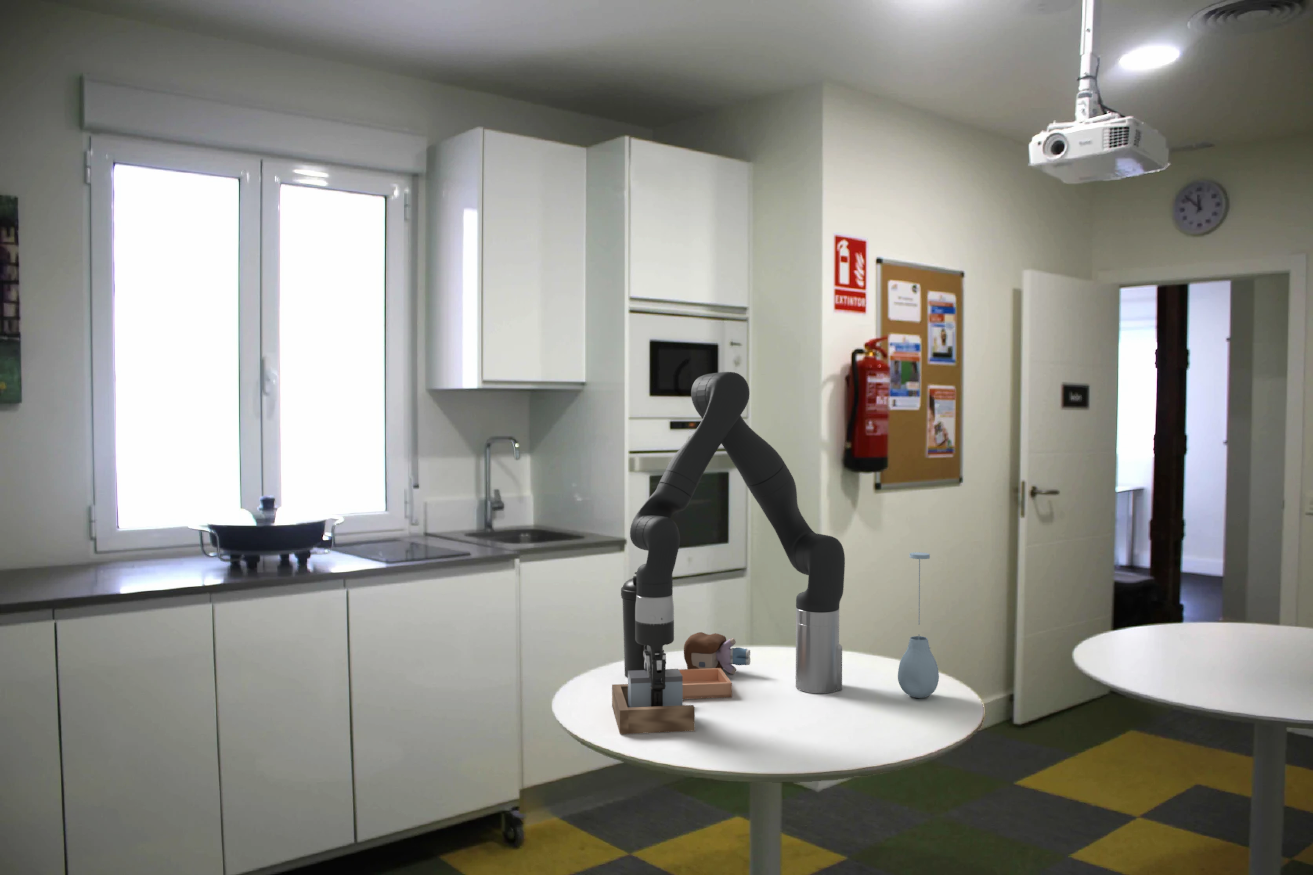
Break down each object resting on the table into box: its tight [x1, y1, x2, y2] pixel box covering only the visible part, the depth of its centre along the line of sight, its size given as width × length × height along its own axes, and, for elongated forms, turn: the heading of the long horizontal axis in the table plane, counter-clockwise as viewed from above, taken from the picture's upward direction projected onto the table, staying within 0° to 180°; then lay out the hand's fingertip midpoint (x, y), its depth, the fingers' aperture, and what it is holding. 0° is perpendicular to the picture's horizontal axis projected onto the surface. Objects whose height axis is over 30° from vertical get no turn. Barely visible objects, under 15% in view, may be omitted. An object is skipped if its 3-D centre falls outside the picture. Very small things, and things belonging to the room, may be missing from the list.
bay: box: [611, 683, 696, 735], centre depth 189 cm, size 14×17×4 cm
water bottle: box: [620, 571, 664, 679], centre depth 220 cm, size 10×10×23 cm
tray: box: [678, 668, 733, 700], centre depth 207 cm, size 17×12×3 cm
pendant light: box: [897, 551, 940, 699], centre depth 203 cm, size 8×8×30 cm
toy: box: [683, 631, 751, 675], centre depth 222 cm, size 9×8×15 cm
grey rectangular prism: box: [627, 668, 684, 708], centre depth 189 cm, size 10×6×8 cm, turn 97°
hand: (654, 703), depth 189 cm, fingers closed on grey rectangular prism, 5 cm apart
